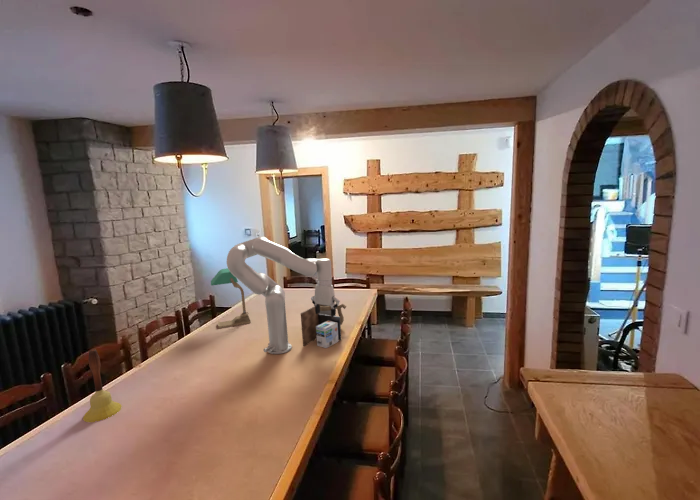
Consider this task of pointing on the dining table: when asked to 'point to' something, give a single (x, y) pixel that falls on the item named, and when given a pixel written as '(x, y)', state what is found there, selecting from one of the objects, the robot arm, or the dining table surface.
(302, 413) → the dining table surface
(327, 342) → the light bulb box
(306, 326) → the walnut wall
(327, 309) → the tankard
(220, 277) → the banker's lamp
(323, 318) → the bookend
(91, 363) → the handbell
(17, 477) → the dining table surface
